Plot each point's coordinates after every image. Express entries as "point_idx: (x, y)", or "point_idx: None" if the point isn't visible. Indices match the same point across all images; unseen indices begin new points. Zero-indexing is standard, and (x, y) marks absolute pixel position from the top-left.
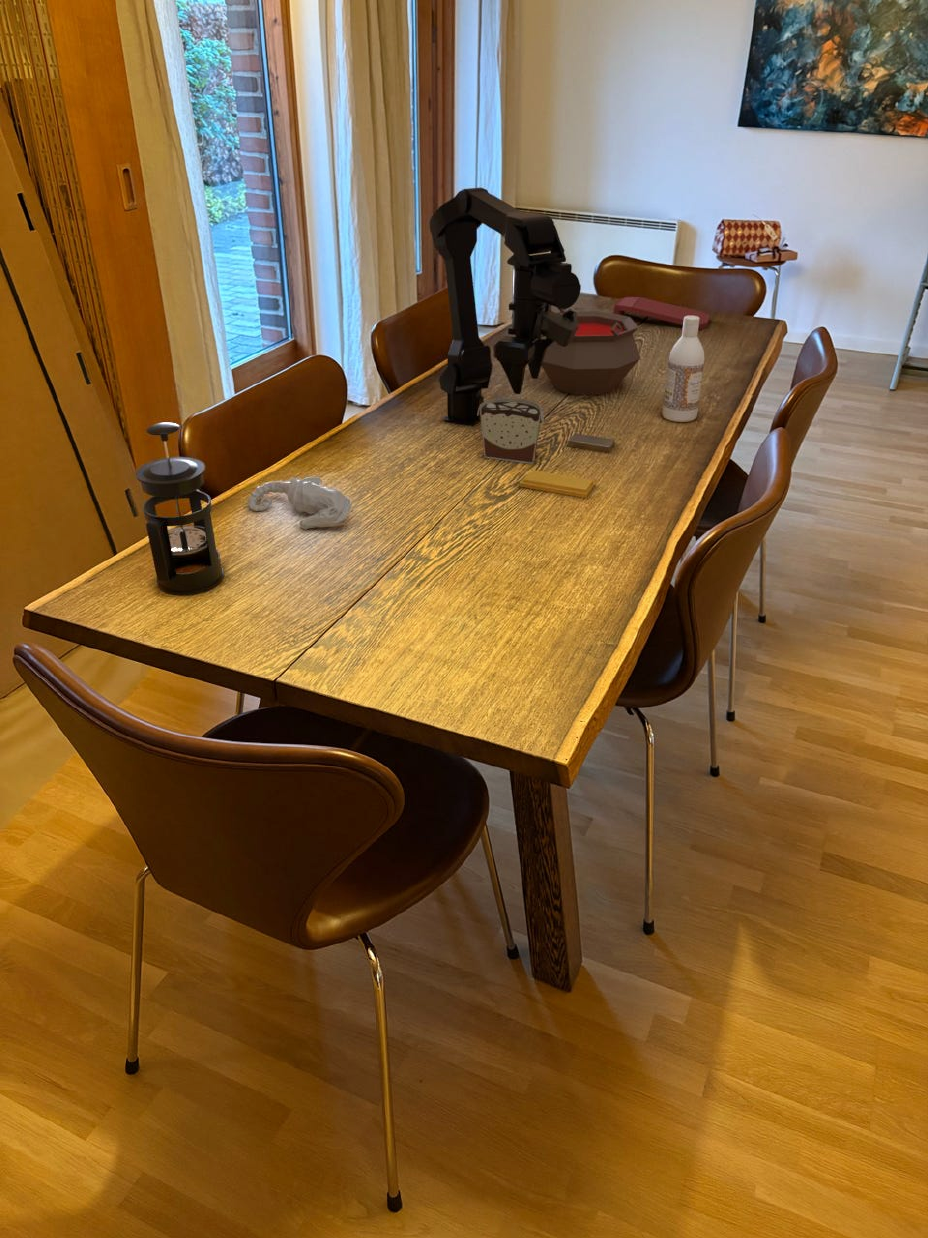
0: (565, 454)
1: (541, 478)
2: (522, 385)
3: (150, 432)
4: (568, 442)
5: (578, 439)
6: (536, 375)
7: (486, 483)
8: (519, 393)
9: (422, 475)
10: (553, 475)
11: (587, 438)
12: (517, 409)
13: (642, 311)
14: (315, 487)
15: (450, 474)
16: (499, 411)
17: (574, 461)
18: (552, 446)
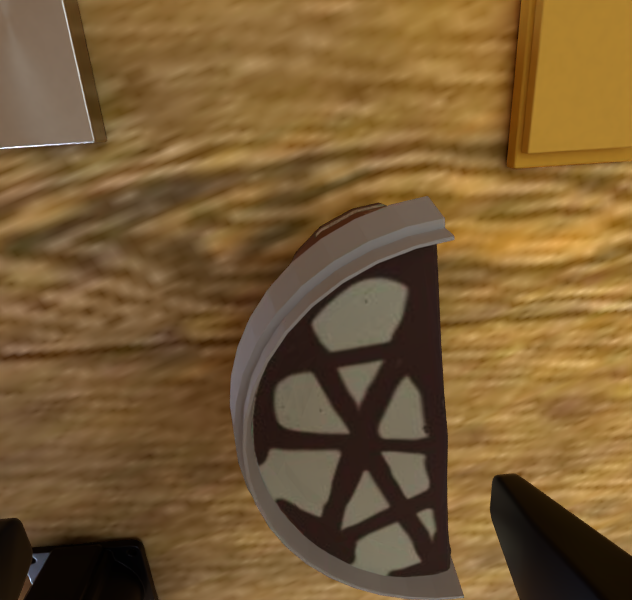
0: (204, 112)
1: (618, 67)
2: (539, 525)
3: None
4: (99, 139)
5: (50, 96)
6: (3, 547)
7: (618, 286)
8: (518, 478)
9: (602, 481)
10: (567, 23)
11: (6, 53)
12: (380, 413)
13: None
14: None
15: (572, 419)
16: (446, 483)
17: (262, 33)
18: (149, 207)
